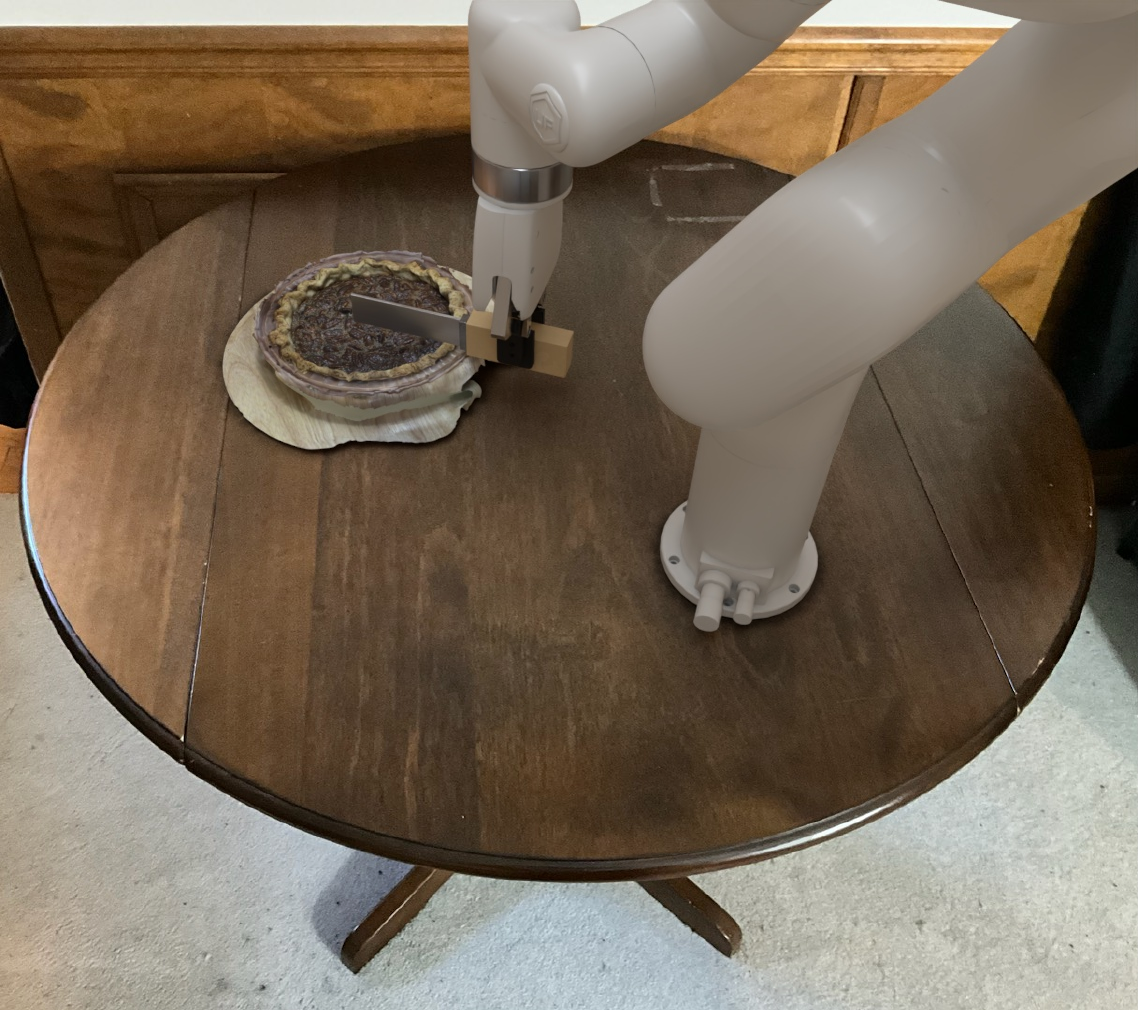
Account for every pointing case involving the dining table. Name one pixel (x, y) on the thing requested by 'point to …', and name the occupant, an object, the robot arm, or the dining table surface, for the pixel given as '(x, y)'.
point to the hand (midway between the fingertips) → (520, 351)
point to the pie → (352, 354)
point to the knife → (465, 332)
